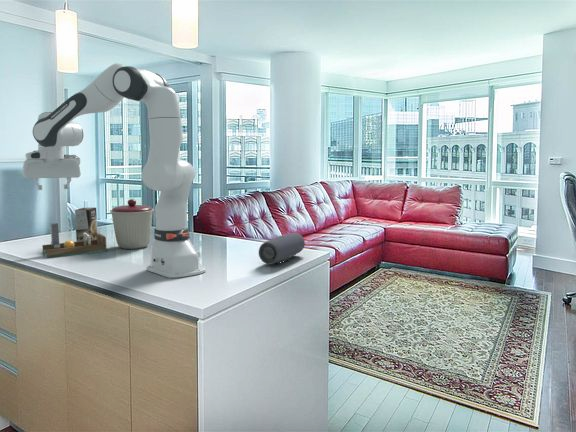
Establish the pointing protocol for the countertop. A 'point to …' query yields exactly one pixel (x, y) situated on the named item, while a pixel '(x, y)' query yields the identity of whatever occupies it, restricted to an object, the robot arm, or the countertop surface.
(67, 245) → the ball
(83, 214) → the coffee box
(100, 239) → the brown wooden tray
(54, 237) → the striker
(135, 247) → the canister
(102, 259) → the countertop surface
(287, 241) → the bluetooth speaker
